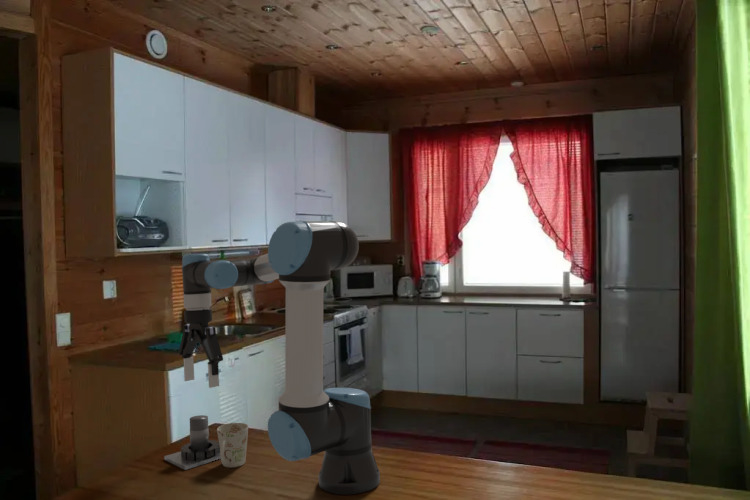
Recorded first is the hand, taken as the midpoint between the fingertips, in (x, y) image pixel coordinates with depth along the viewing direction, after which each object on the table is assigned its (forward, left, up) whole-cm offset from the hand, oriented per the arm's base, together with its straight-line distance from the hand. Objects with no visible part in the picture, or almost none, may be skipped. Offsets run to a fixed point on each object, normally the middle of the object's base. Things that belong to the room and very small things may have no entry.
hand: (201, 383), depth 173 cm
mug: (-13, -1, -21) cm, 25 cm away
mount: (+1, +1, -21) cm, 21 cm away
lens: (+1, +1, -20) cm, 20 cm away
